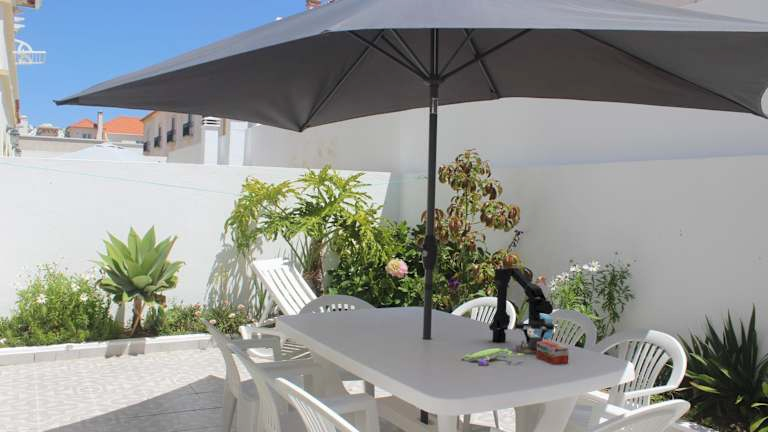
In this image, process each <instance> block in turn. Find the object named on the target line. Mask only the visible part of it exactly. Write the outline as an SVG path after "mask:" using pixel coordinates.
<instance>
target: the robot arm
mask: <svg viewBox="0 0 768 432" xmlns="http://www.w3.org/2000/svg"><path fill="white" fill-rule="evenodd" d="M511 277H512V278H513V279H514V280H515V281H516V282H517V284H518V285H519V286H521V288H523V291H524V294H525V296H526V297H527V299H526V300H525V303H528V317H527V318H528V323H525V322H524V321H515V323H514V327H515V329H516V330H521V331H522V332H523V333H524V336H525V337H524V338H525V341H526V340H527V343H528V334H529V333H528V328H531V329H532V330H534V329H541V332H540V336H541V337H542V340H544V338H543V336H544V334H545V332H546V331H548V330H552V331H553V330H554V329H555V326H554V323H553V322H552V323H551V322H545V319H540V314H543V315H547V316H549V315H551V314H552V313H553V310H554V307H553V304H552V303H551V301H550V300H547V298H546V295H545V294H544V292H543V289H542V288H541V287H540V286H539V285H537V284H535V283H533V282H531V281H530V280H529V279H528V278H527V276H525V275H524V274H523V273H522V272H521V270H520V269H519V268H518V267H516V266H514V267H509V268H507V267H505V268H496V270H495V271H494V281H495V282H496V284H497V296H496V297H497V298H496V311H495V314H494V315H493V320H492V322H491V323H490V324H489V326H488V327H489V330H490V331H492V339H491V341H492V343H505V342H506V340H507V338H506V337H507V336H506V335H507V334H506V330H508V328H509V325H510V323H511V321H510V320H511V315H509V314H508V313H507V298H508V297H507V296H508V285H509V283H510V281H511Z"/></svg>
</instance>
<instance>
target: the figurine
mask: <svg viewBox="0 0 768 432" xmlns="http://www.w3.org/2000/svg"><path fill="white" fill-rule="evenodd" d="M496 354H497V355H499V356H500V355H501V356H502V355H503V354H504V355H503V356H504V357H505V356H506V354H507V357H508V358H509V357H510V358H519V357H520V356H521V357H524V354H522V353H519V352H518V353H516V354H513V351H511V350H509V349H508V348H504V349H501V348H499V347H498V348H497V347H495V348H489V349H488V348H487V349H484V350H480V351H478V352H475V353H473V354H470V353H467V354H465V355H463V356H461V359H462V360H465V359H467V358H470V359H473V360H474V361H475V362H478V366H479V365H480V366H489V363H490V362H489V361H490V360H491V356H493V355H496Z"/></svg>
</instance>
